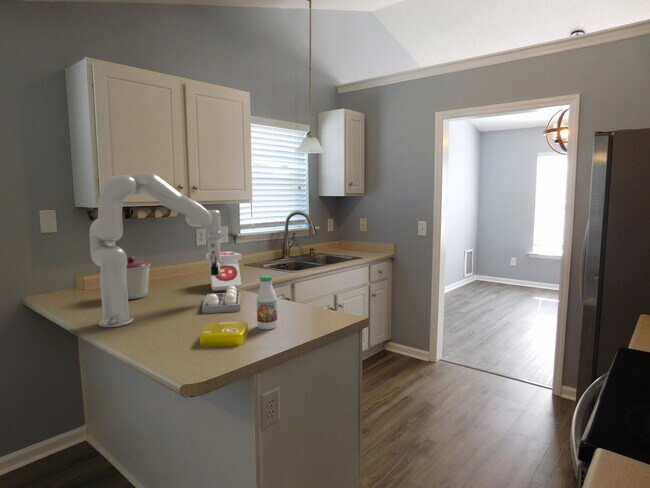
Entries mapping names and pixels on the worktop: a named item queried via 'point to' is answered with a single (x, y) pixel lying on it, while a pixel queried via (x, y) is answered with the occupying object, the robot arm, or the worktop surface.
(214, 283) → the pizza boxes
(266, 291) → the milk bottle
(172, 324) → the worktop surface
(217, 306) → the egg carton
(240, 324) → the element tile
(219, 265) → the brown egg
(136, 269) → the canister
